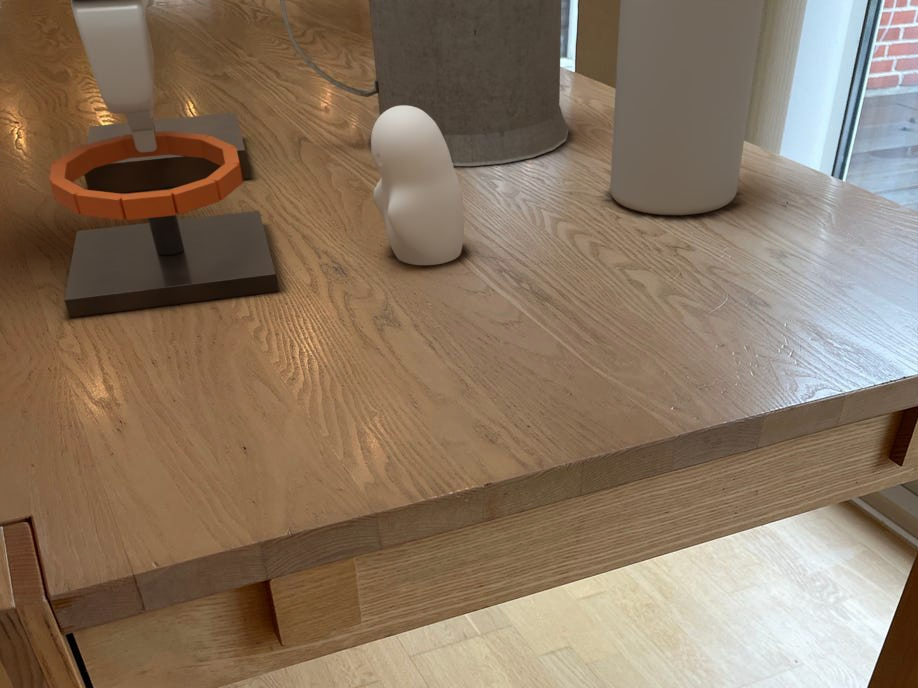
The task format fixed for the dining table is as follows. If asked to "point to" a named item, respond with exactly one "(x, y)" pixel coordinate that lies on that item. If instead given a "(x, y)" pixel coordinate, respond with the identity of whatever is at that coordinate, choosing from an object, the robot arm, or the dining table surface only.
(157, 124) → the stand
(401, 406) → the dining table surface
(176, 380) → the dining table surface
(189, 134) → the ring
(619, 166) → the cylinder vase
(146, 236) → the peg stand
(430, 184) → the figurine
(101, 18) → the robot arm
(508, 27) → the pitcher
